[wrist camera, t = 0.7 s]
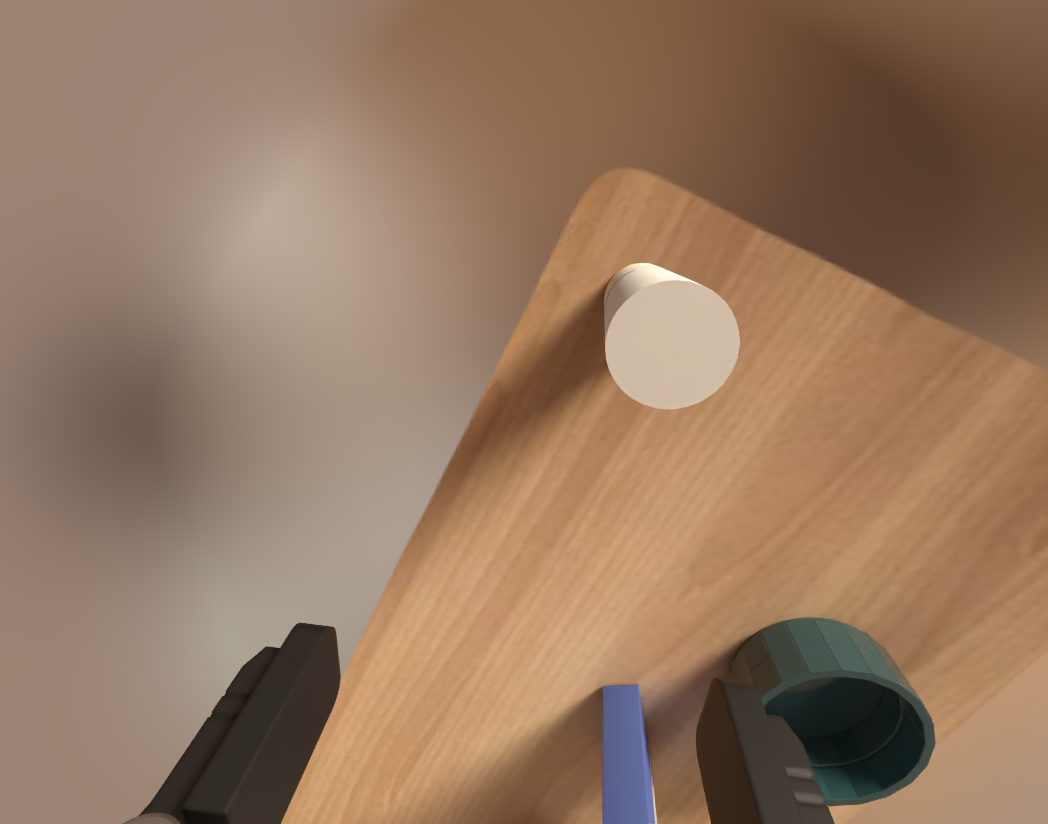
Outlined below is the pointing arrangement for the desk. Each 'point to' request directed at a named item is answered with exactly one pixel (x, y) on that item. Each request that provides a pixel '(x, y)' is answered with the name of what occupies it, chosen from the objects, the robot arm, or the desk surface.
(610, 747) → the walkman
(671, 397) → the tube
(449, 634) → the desk surface
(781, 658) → the bowl
